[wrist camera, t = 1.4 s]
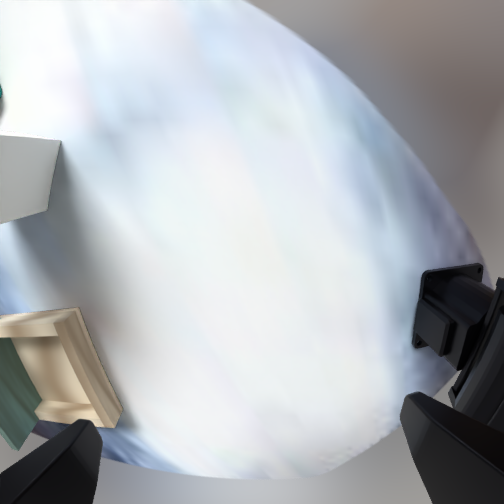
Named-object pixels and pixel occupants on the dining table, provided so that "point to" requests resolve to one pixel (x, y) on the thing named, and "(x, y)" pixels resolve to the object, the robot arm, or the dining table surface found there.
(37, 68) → the dining table surface
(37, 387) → the tray
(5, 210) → the connector plug
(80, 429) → the robot arm
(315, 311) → the dining table surface
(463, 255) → the dining table surface
